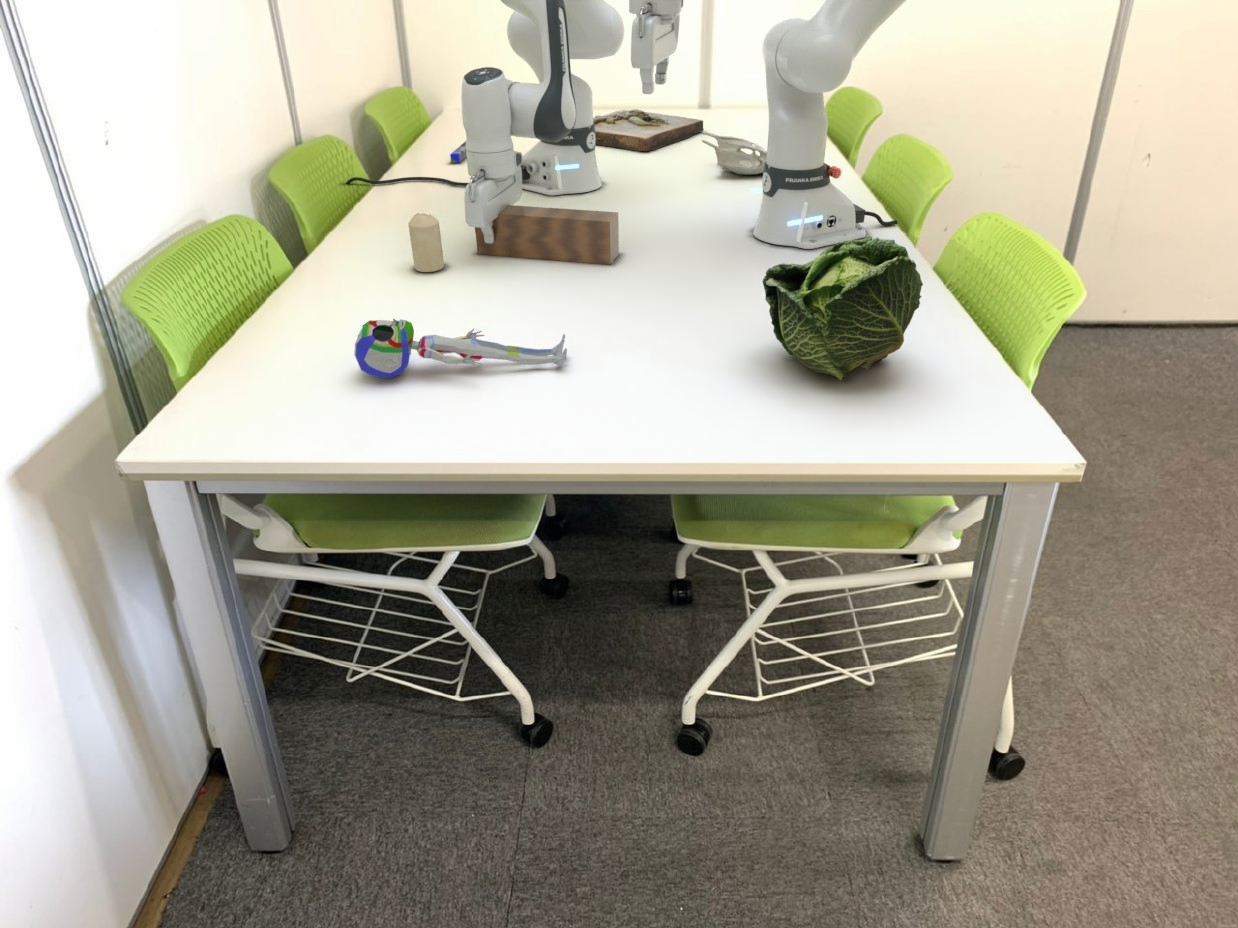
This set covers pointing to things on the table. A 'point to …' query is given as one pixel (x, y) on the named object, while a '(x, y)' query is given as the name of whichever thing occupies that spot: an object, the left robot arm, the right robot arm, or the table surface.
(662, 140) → the plaque
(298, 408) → the table surface
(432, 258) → the candle
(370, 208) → the table surface
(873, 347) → the vegetable
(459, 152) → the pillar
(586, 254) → the bar
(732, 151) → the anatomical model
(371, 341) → the toy
